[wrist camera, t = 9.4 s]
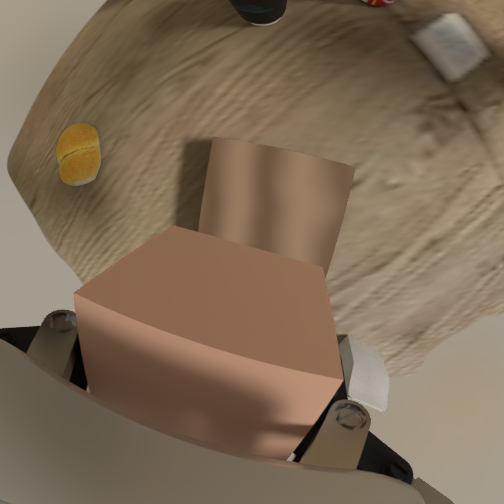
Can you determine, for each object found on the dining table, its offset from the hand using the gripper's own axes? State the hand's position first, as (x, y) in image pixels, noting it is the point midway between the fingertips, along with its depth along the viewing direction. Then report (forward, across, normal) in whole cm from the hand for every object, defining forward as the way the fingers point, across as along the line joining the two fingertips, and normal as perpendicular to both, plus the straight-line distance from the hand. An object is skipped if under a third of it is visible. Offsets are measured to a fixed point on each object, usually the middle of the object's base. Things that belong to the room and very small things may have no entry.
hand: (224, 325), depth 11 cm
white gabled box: (+23, -17, +16) cm, 33 cm away
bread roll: (+23, +28, -2) cm, 36 cm away
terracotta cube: (+1, 0, 0) cm, 1 cm away
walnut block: (+23, 0, 0) cm, 23 cm away
